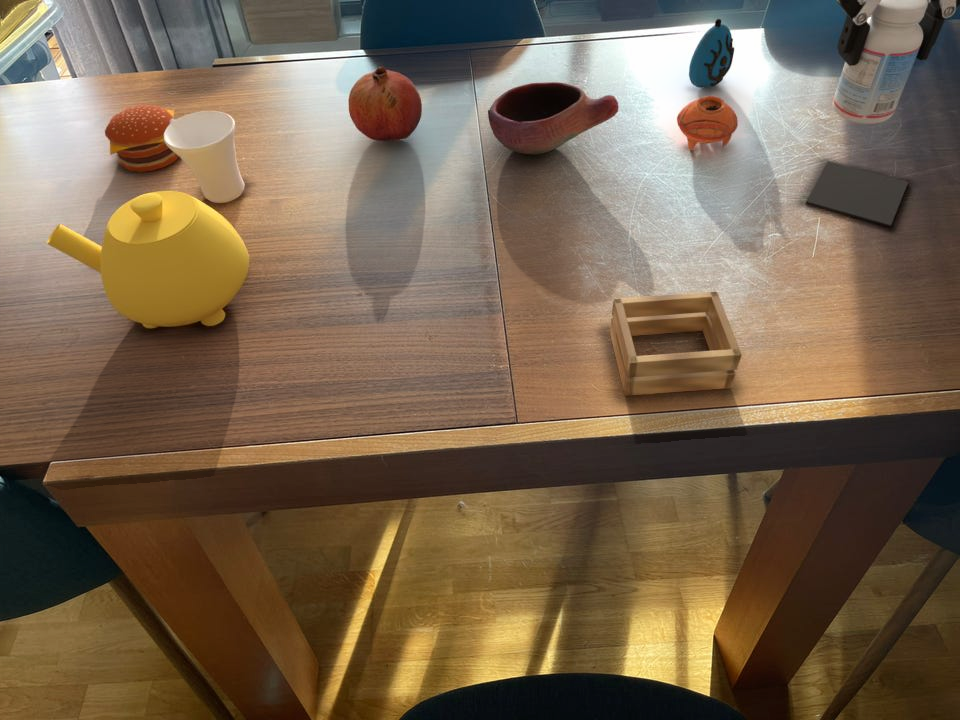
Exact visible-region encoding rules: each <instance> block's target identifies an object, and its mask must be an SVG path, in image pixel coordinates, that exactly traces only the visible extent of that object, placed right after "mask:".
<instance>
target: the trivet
mask: <svg viewBox="0 0 960 720" xmlns="http://www.w3.org/2000/svg"><path fill="white" fill-rule="evenodd" d="M908 185H909V181H907V180H903V179H899V178H896V177H895V178H894V177H891V176H887V175H883V174H880V173H876V172H871V171H867V170H864V169H860V168H857V167H852V166H848V165H845V164H840V163H836V162H834V161H830V160H827V161H826V163H825V165H824V167H823V169H822V170H821V172H820V174H819V176H818V178H817V180H816V182H815V184H814V186H813V188H812V189H811V191H810V193H809V195H808V197H807V198H806V201H805V205H806V204H807V205H810V206H812V207H813V206H814V207H818V208H821V209H825V210H828V211H831V212H835V213H838V214H842V215H846V216H849V217H852V218H856V219H859V220H864V221H866V222H867V221H868V222H870V223H873V224H877V225H881V226H885V227H888V228H891V227H892V224H893V223H894V219H895V216H896V214H897V212H898V210H899V207H900V204H901V202H902V199H903V197H904V194H905V192H906V190H907V187H908Z"/></svg>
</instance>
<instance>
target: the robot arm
mask: <svg viewBox="0 0 960 720" xmlns="http://www.w3.org/2000/svg"><path fill="white" fill-rule="evenodd" d="M880 1H881V0H836V2H837V3H838V5H839V6H840V7H841V9H842V11H843V12H844V13H845V14H846V15H845V20H844V22H843V25H842V30H841V32H840V36H839V38H838V42H837V46H836V47H837V52H838V55H839V56H840V57H841V58H842V60H843V61H844V63H845V62H846V63H847V64H848V65H849V66H855V65H856V64H858V62H859V59H860V56H861V54H862V51H863V48H864V45H865V42H866V39H867V36H868V34H869V31H870V25H869V24H868V23H867V22H866V21H867V19H868V18H869V17H871V16H870V15H871V14H872V13H873V11H874V10H875V8H876V7H877V6H878V4H879V3H880ZM927 1H928V6H927V9H926V11H925V14H924V17H923V18H922V20H921V21H920V22H919V23H918V24H919V25H920V27H921V28H922V30H923V40H922V43H921V46H920V48H919V51H918V53H917V56H916V58H915V59H917V60H918V61H926V60H927V59H928V57H929V55H930V53H931V51H932V48H933V47H934V46H935V44H936V41H937V40H938V37H939V35H940V32H941V30H942V27H943V25H944V22H945V20H946V19H949V18H951V17H952V16H953V15H954V14H955V12H956V11H957V8H958V7H959V6H960V0H927Z"/></svg>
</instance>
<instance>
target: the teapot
mask: <svg viewBox="0 0 960 720" xmlns="http://www.w3.org/2000/svg"><path fill="white" fill-rule="evenodd" d="M46 245H48V246H50V247H52V248H53V249H56V250H58V251H59V252H61V253H63V254H65V255H67V256H68V257H71V258H73V259H74V260H76V261H78V262H80V263H82V264H84V265H85V266H87V267H89V268H91V269H93V270H94V271H97V272H99V273H100V276H101V281H102V282H101V283H102V286H103V289H104V292H105V295H106V297H107V299H108V301H109V302H110V305H111V306H112V307H113V309H114V310H116V311H117V312H118V314H120V315H122V316H123V317H124V318H126V319H129V320H131V321H133V322H136V323H140V324H141V325H142V326H143V327H144V328H146V329H155V328H158V327H164V328H165V327H167V328H169V327H171V328H172V327H180V326H185V325H191V324H195V323H198V322H200V323H201V324H202V325H204V326H206V327H210V326H211V327H213V326H217V325H218V324H221V323H222V322H223V321H224V319H225V318H226V312H225V311H224V310H223V309H224V308H225V307H227V306H228V304H229V303H230V302H231V301H233V300H234V298H235V297H236V295H237V294H238V293H239V292H240V290H241V288H242V286H243V285H244V283H245V281H246V280H247V279H246V278H247V276H248V274H249V269H250V255H249V252H248V249H247V247H246V245H245V242H244V240H243V239H242V237H241V236H240V234H239V233H238V232H237V230H236V229H235V227H233V225H232V224H231V223H230V222H229V221H228V220H227V218H225V217H224V216H223V215H222V214H221V213H219V212H217V211H216V210H215V209H213V208H212V207H211V206H209V205H207V204H206V203H204V202H203V201H201V200H199V199H198V198H196V197H194V196H192V195H190V194H188V193H185V192H182V191H176V190H159V191H152V192H148V193H144V194H141V195H138V196H135V197H134V198H132V199H130V200H128V201H126V202H125V203H123V204H122V205H121V206H120V207H118V208H117V209H116V210H115V211H114V213H113V214H112V215H111V216H110V218H109V220H108V222H107V225H106V228H105V231H104V235H103V239H102V245H99V244H97V243H96V242H94V241H93V240H91V239H89V238H87V237H85V236H83V235H81V234H80V233H77V232H75V231H74V230H72V229H70V228H69V227H66V226H65V225H63V224H61V223H59V224H58V225H57V226H56V227H55V228H54V229H53V231H52V232H51V234H50V235H49V237H48V239H47V241H46Z"/></svg>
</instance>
